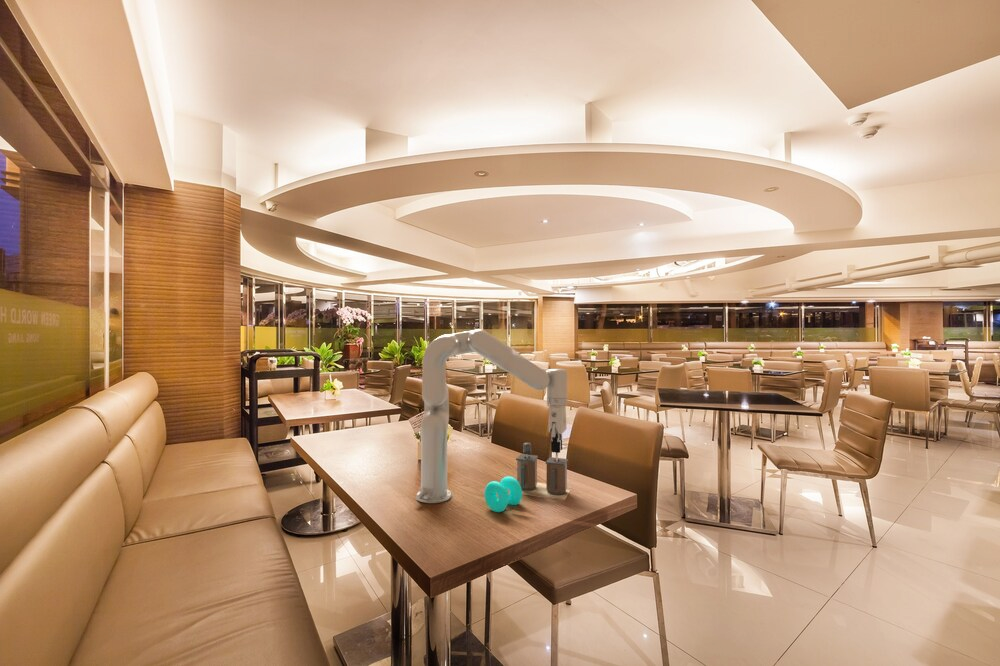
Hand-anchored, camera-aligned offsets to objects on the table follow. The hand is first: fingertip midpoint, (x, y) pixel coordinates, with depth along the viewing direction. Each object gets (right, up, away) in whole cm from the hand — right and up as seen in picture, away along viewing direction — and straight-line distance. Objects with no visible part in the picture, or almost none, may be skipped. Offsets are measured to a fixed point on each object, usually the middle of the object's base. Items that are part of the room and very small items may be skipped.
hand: (556, 450), depth 155 cm
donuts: (-20, -17, -12) cm, 29 cm away
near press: (0, -15, -1) cm, 15 cm away
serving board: (-5, -17, +2) cm, 17 cm away
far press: (-11, -15, +3) cm, 19 cm away
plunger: (0, -12, 0) cm, 12 cm away
